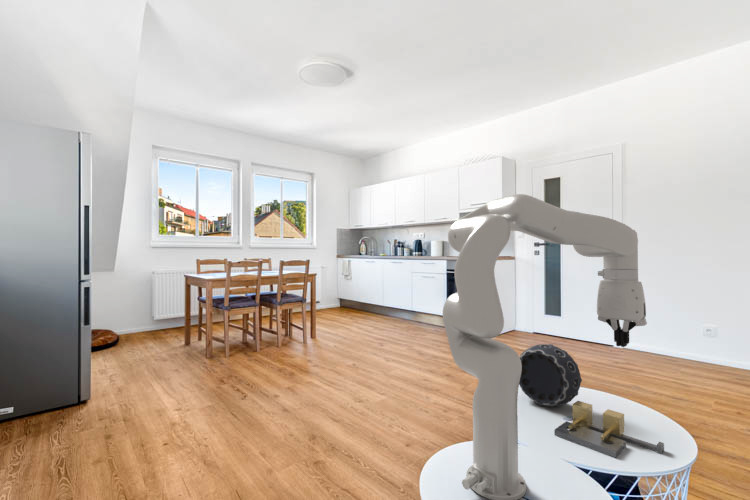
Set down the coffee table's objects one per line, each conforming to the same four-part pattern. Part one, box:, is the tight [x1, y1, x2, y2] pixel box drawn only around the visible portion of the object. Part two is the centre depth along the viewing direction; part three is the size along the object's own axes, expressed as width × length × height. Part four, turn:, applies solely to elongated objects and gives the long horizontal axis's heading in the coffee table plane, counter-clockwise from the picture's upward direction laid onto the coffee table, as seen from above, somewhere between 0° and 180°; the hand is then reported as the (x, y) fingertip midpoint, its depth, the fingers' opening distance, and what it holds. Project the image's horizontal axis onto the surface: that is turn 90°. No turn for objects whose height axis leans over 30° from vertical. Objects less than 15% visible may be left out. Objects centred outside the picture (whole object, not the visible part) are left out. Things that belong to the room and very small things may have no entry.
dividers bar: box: [569, 400, 665, 455], centre depth 98 cm, size 11×21×6 cm, turn 40°
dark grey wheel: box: [519, 343, 583, 408], centre depth 122 cm, size 11×20×20 cm, turn 37°
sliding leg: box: [601, 408, 625, 440], centre depth 98 cm, size 11×4×5 cm, turn 130°
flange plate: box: [553, 421, 627, 459], centre depth 98 cm, size 8×15×2 cm, turn 40°
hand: (621, 345), depth 94 cm, fingers closed
